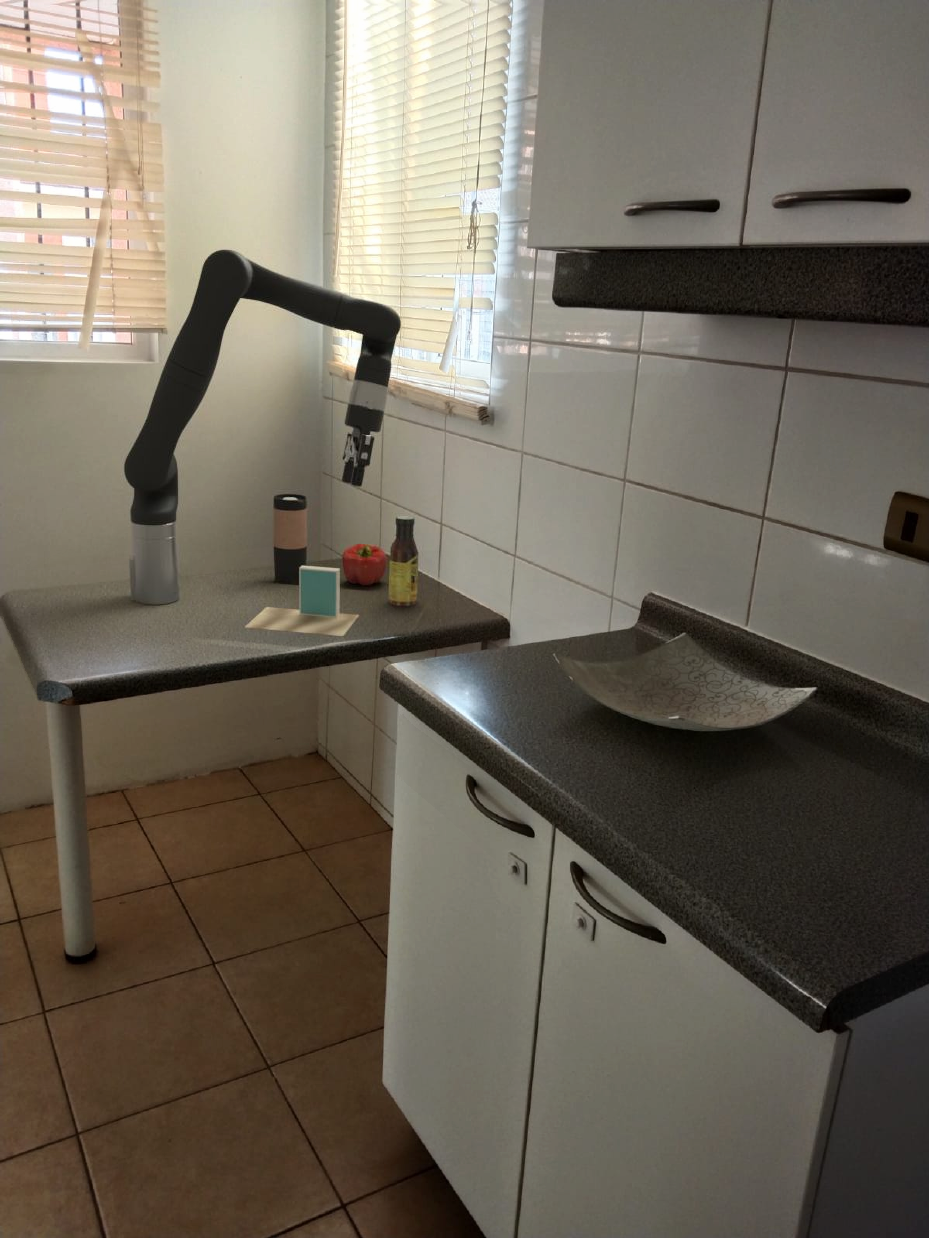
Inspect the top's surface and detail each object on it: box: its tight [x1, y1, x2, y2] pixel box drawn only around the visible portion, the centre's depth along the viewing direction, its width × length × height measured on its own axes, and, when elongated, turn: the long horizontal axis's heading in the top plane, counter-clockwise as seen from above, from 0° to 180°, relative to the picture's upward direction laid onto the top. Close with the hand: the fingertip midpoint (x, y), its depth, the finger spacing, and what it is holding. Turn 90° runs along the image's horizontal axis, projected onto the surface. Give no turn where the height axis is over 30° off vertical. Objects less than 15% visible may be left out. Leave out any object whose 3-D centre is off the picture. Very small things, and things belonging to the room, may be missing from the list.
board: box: [244, 606, 360, 637], centre depth 204 cm, size 20×14×1 cm
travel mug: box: [272, 493, 308, 586], centre depth 232 cm, size 8×8×20 cm
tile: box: [298, 565, 341, 618], centre depth 207 cm, size 8×2×10 cm, turn 83°
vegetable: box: [341, 543, 388, 586], centre depth 235 cm, size 11×10×10 cm
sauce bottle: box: [388, 515, 419, 607], centre depth 218 cm, size 7×6×20 cm
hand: (351, 484), depth 207 cm, fingers open, 8 cm apart
